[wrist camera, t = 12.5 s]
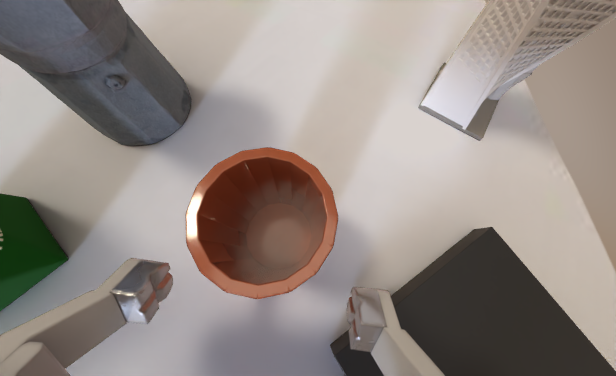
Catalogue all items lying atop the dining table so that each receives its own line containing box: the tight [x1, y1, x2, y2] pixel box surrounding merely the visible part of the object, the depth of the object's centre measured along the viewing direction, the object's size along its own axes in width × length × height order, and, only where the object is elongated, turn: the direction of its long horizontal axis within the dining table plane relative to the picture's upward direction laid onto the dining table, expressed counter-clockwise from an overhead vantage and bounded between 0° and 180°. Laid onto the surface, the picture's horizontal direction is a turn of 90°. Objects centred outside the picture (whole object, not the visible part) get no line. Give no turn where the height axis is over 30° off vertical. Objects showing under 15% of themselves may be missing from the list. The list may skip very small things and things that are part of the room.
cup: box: [186, 148, 338, 299], centre depth 14 cm, size 6×6×10 cm
